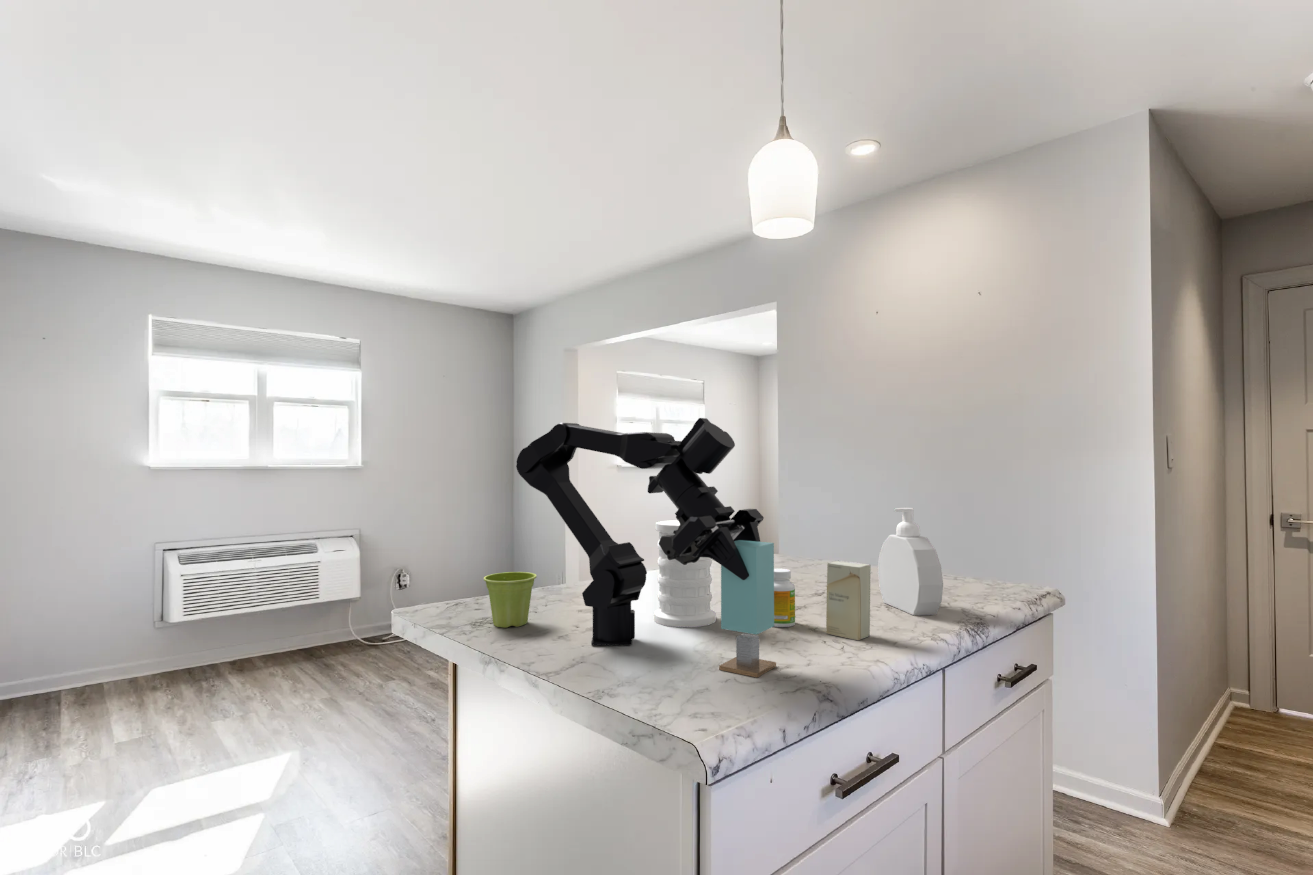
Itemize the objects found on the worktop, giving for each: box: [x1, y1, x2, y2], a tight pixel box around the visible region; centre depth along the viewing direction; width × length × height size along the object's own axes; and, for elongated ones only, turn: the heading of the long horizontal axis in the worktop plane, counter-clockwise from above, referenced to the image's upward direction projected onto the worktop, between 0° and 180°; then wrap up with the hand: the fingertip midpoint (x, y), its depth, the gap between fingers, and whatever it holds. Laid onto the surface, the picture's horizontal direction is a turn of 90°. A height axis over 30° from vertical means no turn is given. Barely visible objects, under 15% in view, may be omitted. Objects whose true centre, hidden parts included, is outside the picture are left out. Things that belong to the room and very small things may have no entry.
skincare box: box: [825, 560, 872, 641], centre depth 113 cm, size 6×4×12 cm
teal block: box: [720, 540, 775, 636], centre depth 96 cm, size 6×6×12 cm
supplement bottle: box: [773, 567, 796, 628], centre depth 121 cm, size 5×5×10 cm
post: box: [718, 632, 777, 678], centre depth 96 cm, size 6×6×4 cm
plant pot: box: [483, 571, 538, 629], centre depth 121 cm, size 9×9×9 cm
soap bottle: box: [877, 507, 944, 616], centre depth 133 cm, size 16×5×20 cm, turn 10°
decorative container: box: [653, 519, 717, 628], centre depth 125 cm, size 12×12×18 cm
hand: (756, 575), depth 95 cm, fingers closed on teal block, 6 cm apart
